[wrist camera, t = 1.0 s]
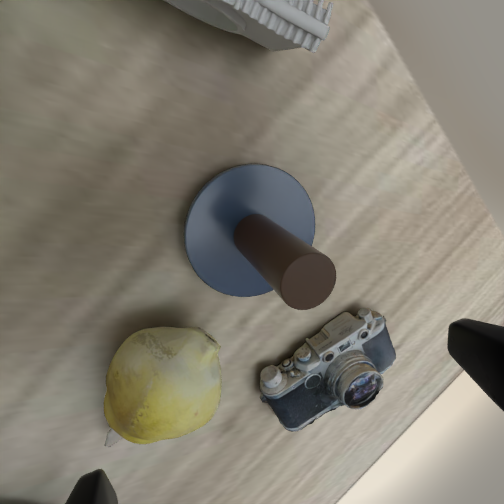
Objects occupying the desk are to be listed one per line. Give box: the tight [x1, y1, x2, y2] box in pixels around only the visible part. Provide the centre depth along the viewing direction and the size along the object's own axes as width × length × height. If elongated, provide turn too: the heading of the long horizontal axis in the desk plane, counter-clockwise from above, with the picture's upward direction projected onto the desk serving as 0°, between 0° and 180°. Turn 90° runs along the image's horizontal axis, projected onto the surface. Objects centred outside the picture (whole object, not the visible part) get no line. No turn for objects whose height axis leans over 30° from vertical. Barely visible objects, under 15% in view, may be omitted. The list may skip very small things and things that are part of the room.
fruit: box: [104, 327, 221, 447], centre depth 19 cm, size 6×6×10 cm
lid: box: [184, 164, 336, 310], centre depth 16 cm, size 8×8×8 cm
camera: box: [260, 308, 396, 431], centre depth 23 cm, size 5×10×4 cm, turn 115°
